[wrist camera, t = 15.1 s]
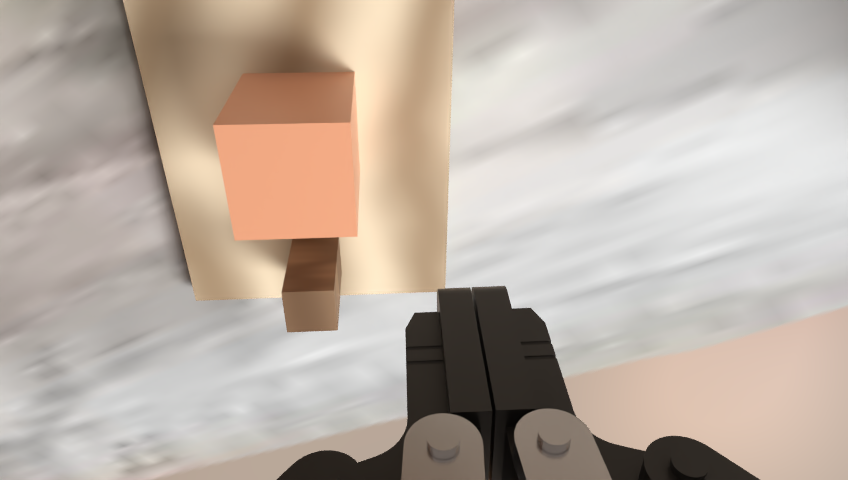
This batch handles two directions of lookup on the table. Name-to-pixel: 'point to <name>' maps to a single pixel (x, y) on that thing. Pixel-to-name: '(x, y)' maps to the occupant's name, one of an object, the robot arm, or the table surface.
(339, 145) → the salmon orange block
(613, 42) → the table surface
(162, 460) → the table surface
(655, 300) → the table surface
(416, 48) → the board
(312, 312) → the walnut post
